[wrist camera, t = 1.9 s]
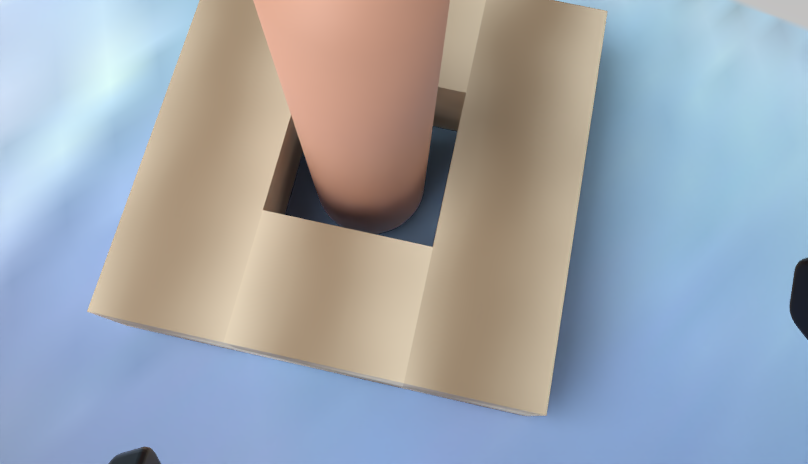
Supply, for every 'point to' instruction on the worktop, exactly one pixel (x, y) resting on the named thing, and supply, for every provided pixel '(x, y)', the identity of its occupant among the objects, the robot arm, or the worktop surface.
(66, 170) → the worktop surface
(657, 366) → the worktop surface
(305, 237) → the pocket block
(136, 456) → the robot arm
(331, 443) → the worktop surface
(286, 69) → the terracotta peg
